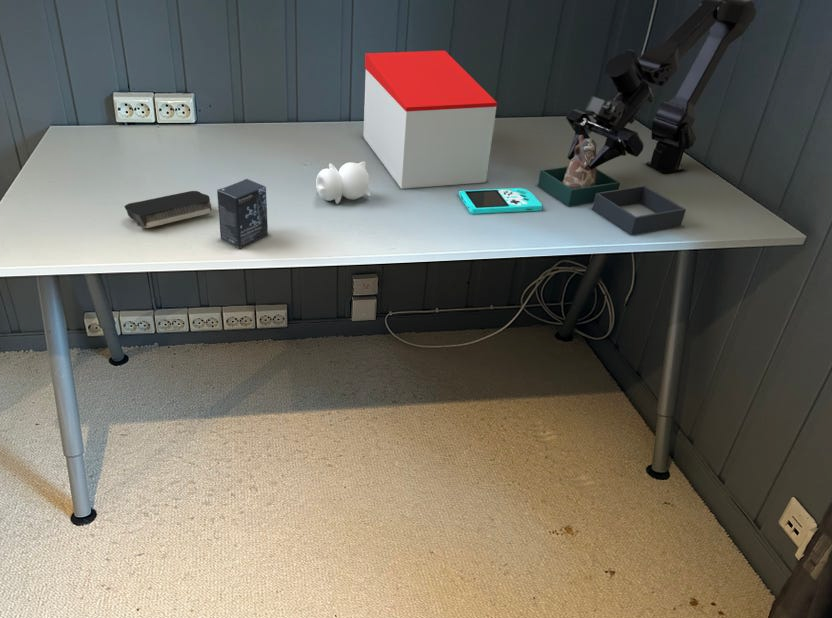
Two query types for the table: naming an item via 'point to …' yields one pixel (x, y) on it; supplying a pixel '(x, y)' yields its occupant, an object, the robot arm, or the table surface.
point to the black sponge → (169, 208)
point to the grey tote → (663, 218)
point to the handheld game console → (499, 200)
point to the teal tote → (554, 185)
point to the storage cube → (427, 119)
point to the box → (242, 213)
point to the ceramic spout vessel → (581, 165)
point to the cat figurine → (343, 182)
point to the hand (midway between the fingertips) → (579, 163)
